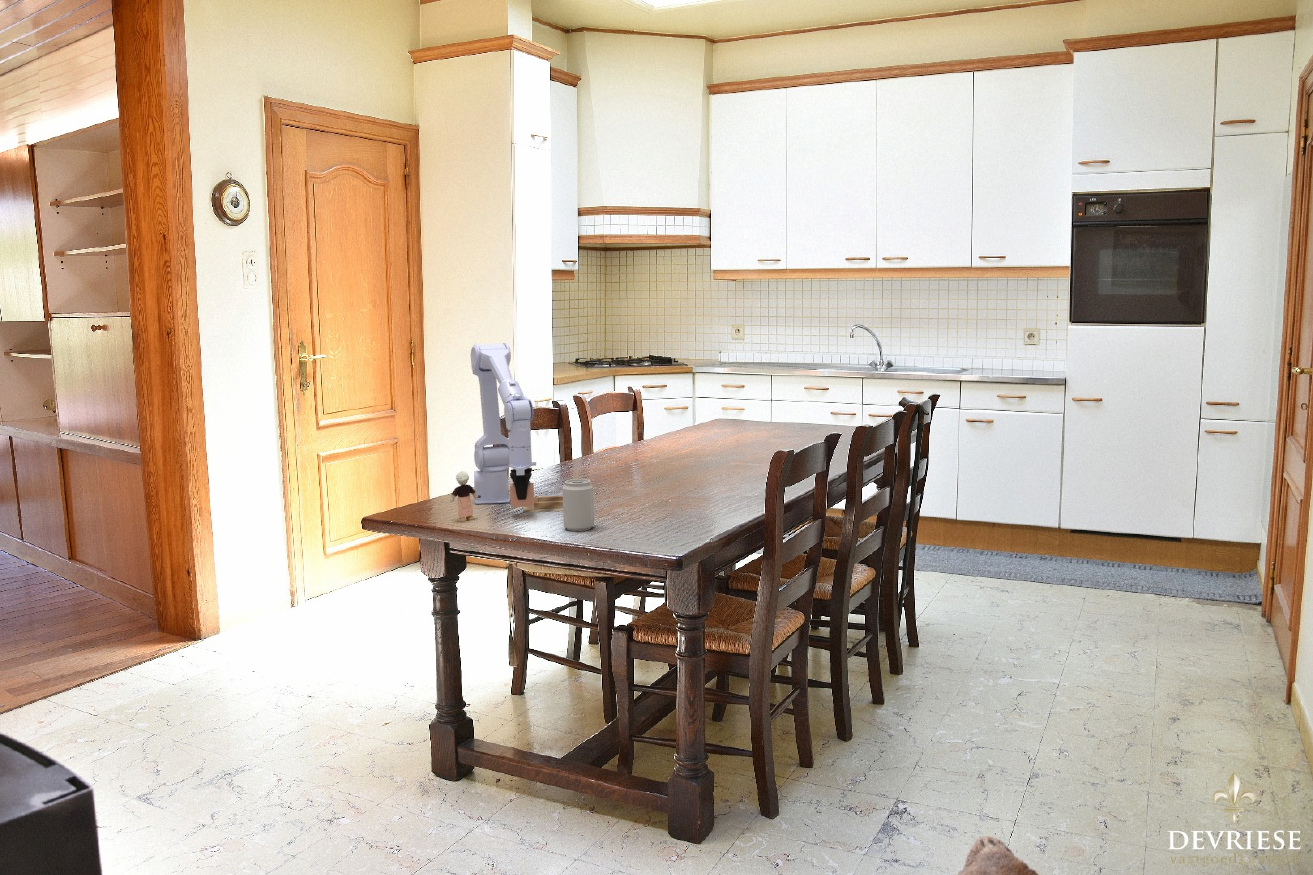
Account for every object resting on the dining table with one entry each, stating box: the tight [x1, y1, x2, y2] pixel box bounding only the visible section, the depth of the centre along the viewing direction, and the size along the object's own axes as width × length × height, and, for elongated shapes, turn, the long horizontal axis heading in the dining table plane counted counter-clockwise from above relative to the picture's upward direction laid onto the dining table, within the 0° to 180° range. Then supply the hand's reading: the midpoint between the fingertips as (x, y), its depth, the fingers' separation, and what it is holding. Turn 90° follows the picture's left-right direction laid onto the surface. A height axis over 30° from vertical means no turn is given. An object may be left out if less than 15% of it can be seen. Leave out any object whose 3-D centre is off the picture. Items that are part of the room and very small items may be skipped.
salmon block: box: [509, 480, 535, 508], centre depth 267 cm, size 6×4×6 cm, turn 96°
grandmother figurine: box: [449, 471, 478, 522], centre depth 263 cm, size 8×4×13 cm, turn 141°
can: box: [561, 478, 595, 532], centre depth 251 cm, size 8×8×12 cm
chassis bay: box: [522, 495, 563, 514], centre depth 276 cm, size 16×9×2 cm, turn 96°
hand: (522, 497), depth 267 cm, fingers closed on salmon block, 4 cm apart
